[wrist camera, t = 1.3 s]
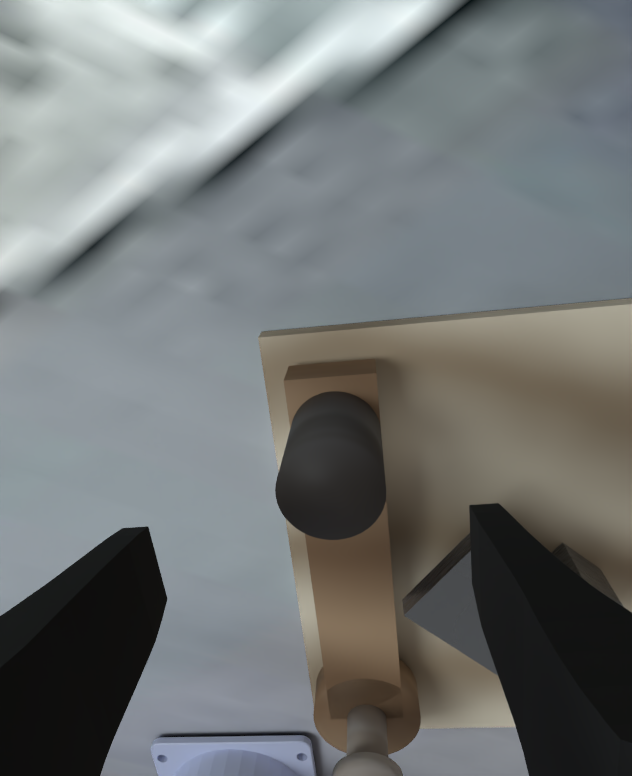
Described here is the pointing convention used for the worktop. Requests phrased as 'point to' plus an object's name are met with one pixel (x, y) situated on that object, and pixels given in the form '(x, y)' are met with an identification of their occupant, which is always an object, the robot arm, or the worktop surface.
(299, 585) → the latch board
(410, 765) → the worktop surface
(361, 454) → the link
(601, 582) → the keeper
